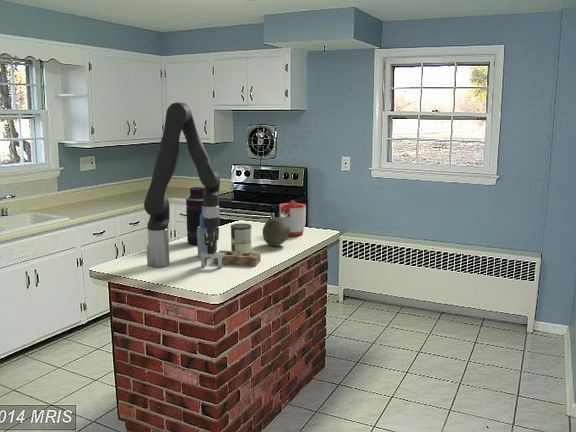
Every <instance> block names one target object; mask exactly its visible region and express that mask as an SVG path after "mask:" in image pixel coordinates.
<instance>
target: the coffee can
mask: <svg viewBox="0 0 576 432" xmlns="http://www.w3.org/2000/svg"><path fill="white" fill-rule="evenodd" d="M230 243H231V244H230V247H231V248H230V251H237V252H252V225H251V224H249V223H243V222H242V223H233V224H231V225H230Z"/></svg>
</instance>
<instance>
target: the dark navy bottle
mask: <svg viewBox="0 0 576 432" xmlns="http://www.w3.org/2000/svg"><path fill="white" fill-rule="evenodd" d="M189 193H190V195H189V197H187V198H185V205H186V207H185V208H186V209H185V213H186V232H187V233H186V234H187V236H186V239H187V243H188V245H191V244H197V227H198V226H200V214H201V211H202V206H203V195H204V193H205V186H203V187H202V186H201V187H200V186H192V187H190V188H189ZM197 245H198V244H197Z"/></svg>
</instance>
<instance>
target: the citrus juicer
mask: <svg viewBox="0 0 576 432" xmlns="http://www.w3.org/2000/svg"><path fill="white" fill-rule="evenodd" d="M306 210H307V205H306V203H302V202H301V203H299V202H296V201H295V200H294V199H292V200H291V201H289V202H286V203H280V204H279V218H282V219H284V220H285V221H286V222H287V223H288V224H289V227H290V234H289V236H291V237H296V236H302V235H303V233H304V231H305V227H306V223H307V221H306V218H307V217H306V216H307V211H306Z"/></svg>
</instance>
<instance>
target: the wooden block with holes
mask: <svg viewBox="0 0 576 432" xmlns="http://www.w3.org/2000/svg"><path fill="white" fill-rule="evenodd" d="M217 253H225V257H224V265H227V266H229V265H231V266H245V265H247V266H249V267H257V265H259V263H260V262H261V259H262V257H261V254H262V253H261V252H252V251H251V252H237V251H231V250H219V251H218V252H217ZM213 260H214V262H213V264H214V265H218V258H214V257H213ZM247 266H246V267H247Z"/></svg>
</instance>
